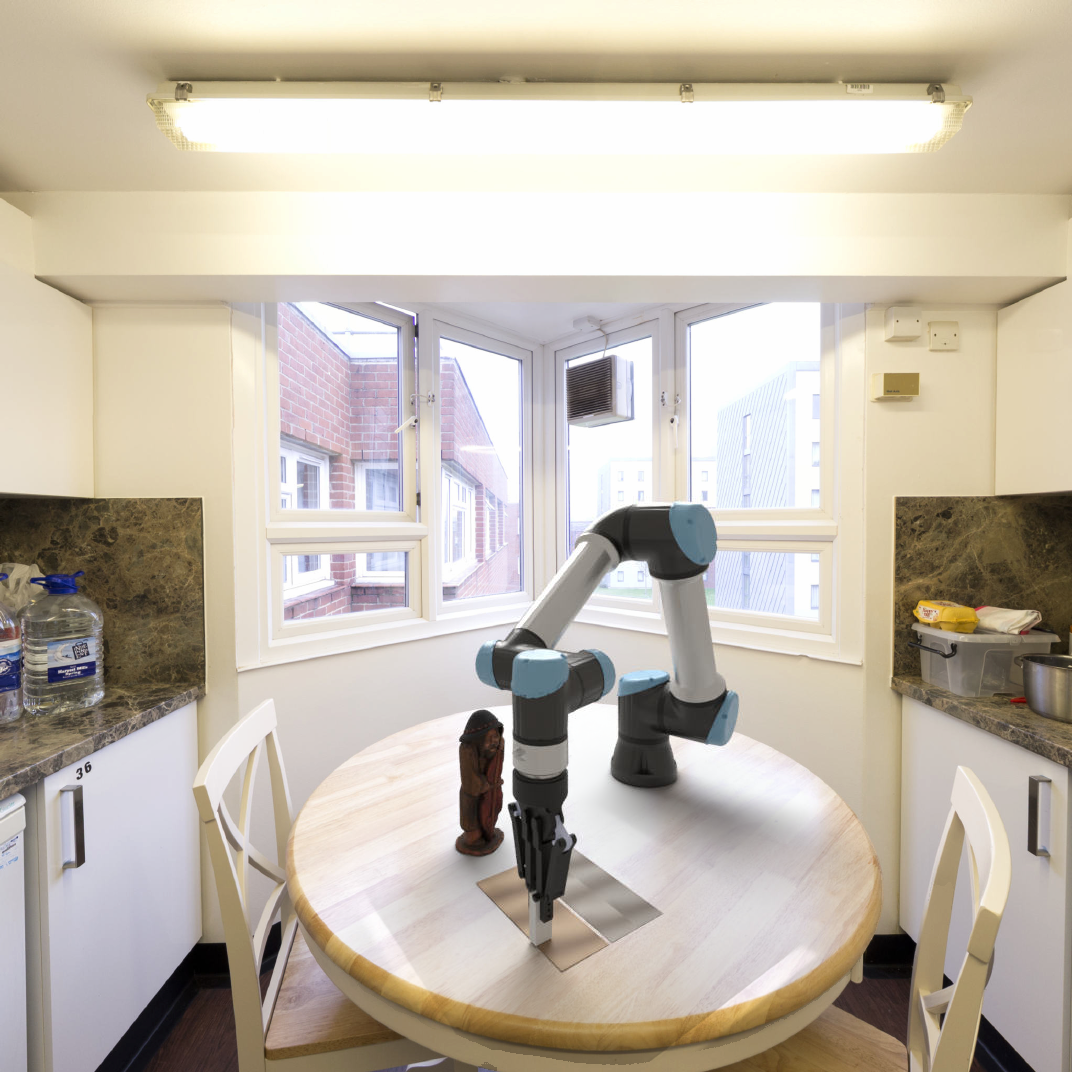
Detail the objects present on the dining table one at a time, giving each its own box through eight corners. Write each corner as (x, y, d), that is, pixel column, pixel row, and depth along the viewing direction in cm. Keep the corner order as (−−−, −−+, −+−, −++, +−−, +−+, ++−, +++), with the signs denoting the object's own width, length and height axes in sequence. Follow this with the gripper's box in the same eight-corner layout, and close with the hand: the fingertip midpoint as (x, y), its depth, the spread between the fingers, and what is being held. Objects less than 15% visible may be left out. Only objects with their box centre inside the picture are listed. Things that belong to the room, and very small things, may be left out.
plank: (475, 892, 92) (475, 882, 92) (518, 874, 96) (518, 865, 96) (561, 982, 74) (561, 970, 74) (608, 955, 78) (608, 944, 78)
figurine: (481, 871, 97) (480, 723, 97) (445, 857, 101) (443, 715, 101) (515, 842, 106) (514, 706, 105) (479, 830, 110) (478, 699, 109)
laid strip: (521, 872, 97) (521, 864, 97) (568, 852, 102) (568, 844, 102) (612, 953, 79) (612, 942, 79) (663, 923, 85) (663, 913, 84)
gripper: (491, 758, 82) (492, 922, 82) (546, 793, 71) (547, 982, 72) (535, 745, 86) (535, 902, 87) (593, 777, 75) (593, 956, 76)
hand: (540, 938), depth 79 cm, fingers closed
